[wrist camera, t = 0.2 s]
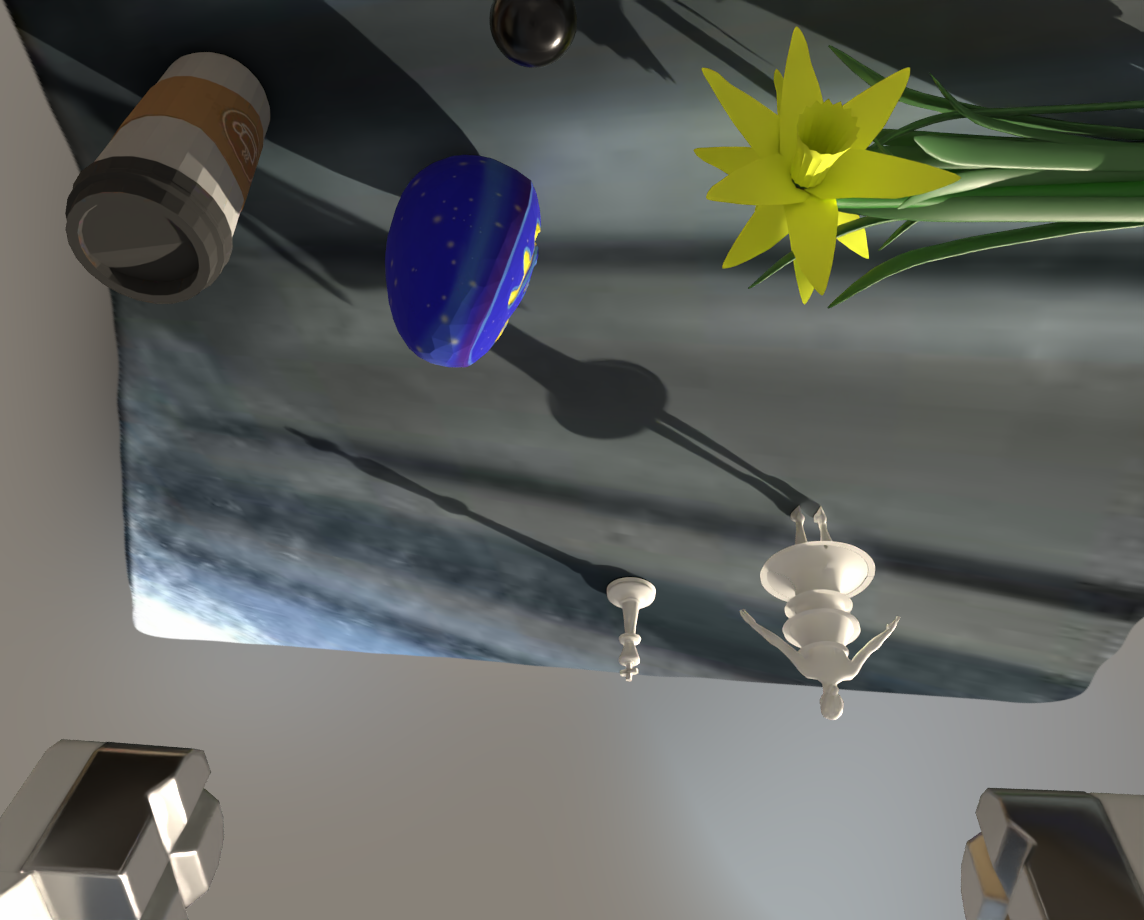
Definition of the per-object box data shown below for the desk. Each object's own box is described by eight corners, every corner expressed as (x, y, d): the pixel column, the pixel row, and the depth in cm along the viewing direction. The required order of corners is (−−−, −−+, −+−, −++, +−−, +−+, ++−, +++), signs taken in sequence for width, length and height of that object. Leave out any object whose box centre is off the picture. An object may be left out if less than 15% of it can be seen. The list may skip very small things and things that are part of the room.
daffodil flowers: (1093, 280, 70) (607, 297, 61) (1134, 51, 65) (613, 35, 57) (1319, 328, 54) (712, 360, 46) (1394, 33, 50) (732, 8, 41)
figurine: (727, 544, 95) (738, 746, 82) (739, 479, 87) (753, 690, 75) (869, 550, 94) (902, 754, 81) (893, 485, 87) (933, 699, 74)
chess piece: (599, 581, 101) (594, 671, 95) (645, 573, 99) (644, 664, 93) (617, 607, 104) (614, 695, 98) (662, 598, 103) (662, 688, 96)
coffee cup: (309, 147, 64) (247, 303, 55) (189, 163, 66) (108, 318, 56) (255, 21, 58) (174, 172, 49) (124, 42, 60) (20, 192, 50)
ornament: (518, 274, 71) (495, 433, 62) (390, 237, 70) (346, 395, 60) (565, 144, 63) (547, 304, 54) (422, 99, 61) (376, 256, 52)
